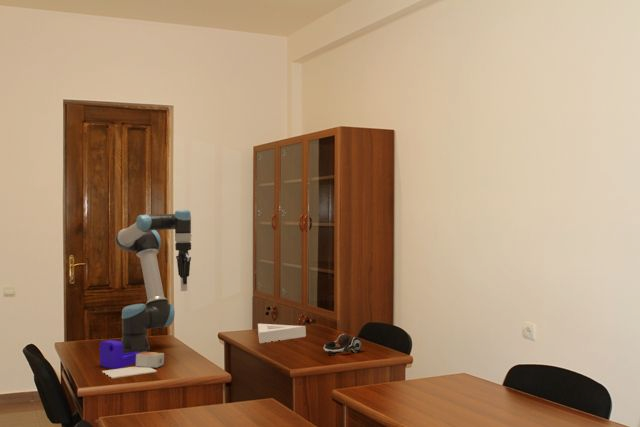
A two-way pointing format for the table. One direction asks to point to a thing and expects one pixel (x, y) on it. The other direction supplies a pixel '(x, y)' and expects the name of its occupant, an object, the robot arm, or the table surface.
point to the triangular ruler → (279, 332)
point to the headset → (343, 345)
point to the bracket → (115, 355)
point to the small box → (150, 359)
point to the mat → (128, 371)
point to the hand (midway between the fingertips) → (184, 290)
